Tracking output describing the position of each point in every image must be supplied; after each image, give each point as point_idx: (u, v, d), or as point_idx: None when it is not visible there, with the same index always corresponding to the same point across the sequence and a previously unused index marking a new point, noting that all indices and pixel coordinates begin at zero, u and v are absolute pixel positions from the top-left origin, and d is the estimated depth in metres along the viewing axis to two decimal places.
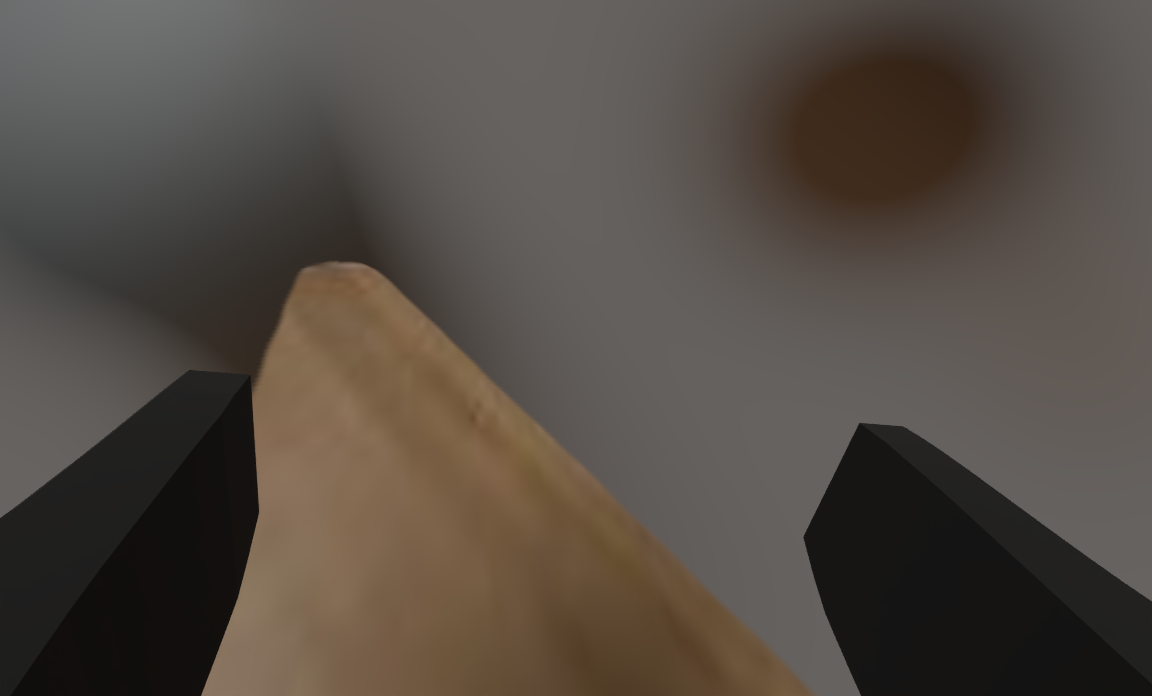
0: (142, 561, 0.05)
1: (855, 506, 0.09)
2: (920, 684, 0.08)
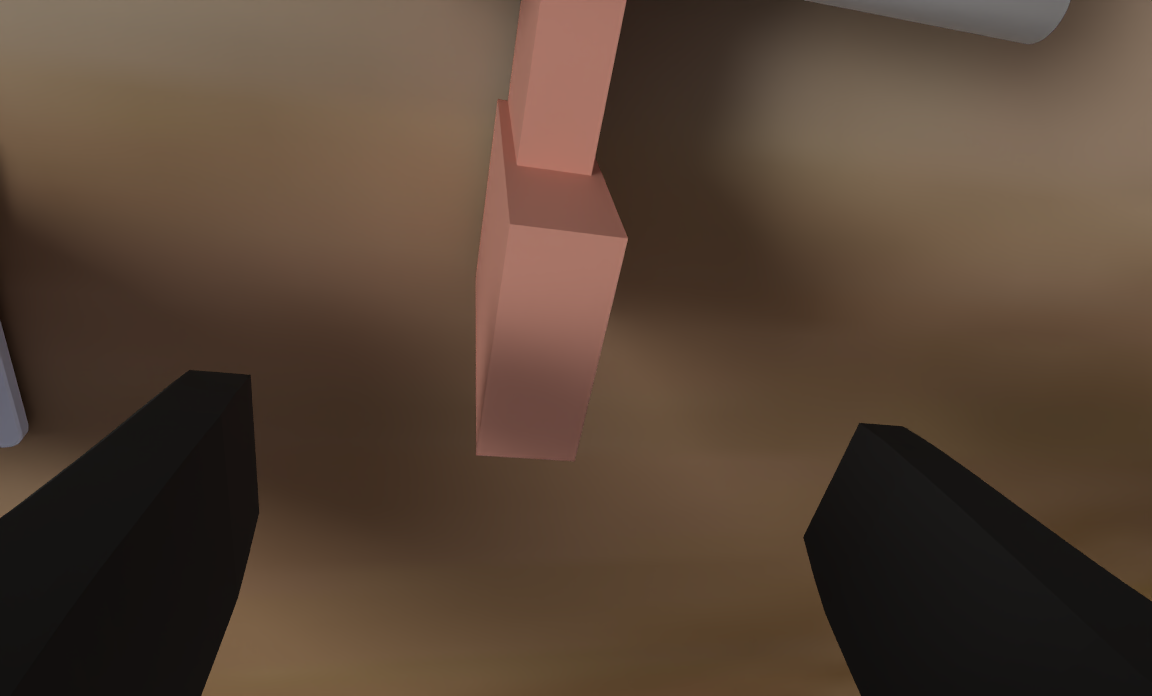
0: (142, 561, 0.05)
1: (855, 506, 0.09)
2: (920, 684, 0.08)
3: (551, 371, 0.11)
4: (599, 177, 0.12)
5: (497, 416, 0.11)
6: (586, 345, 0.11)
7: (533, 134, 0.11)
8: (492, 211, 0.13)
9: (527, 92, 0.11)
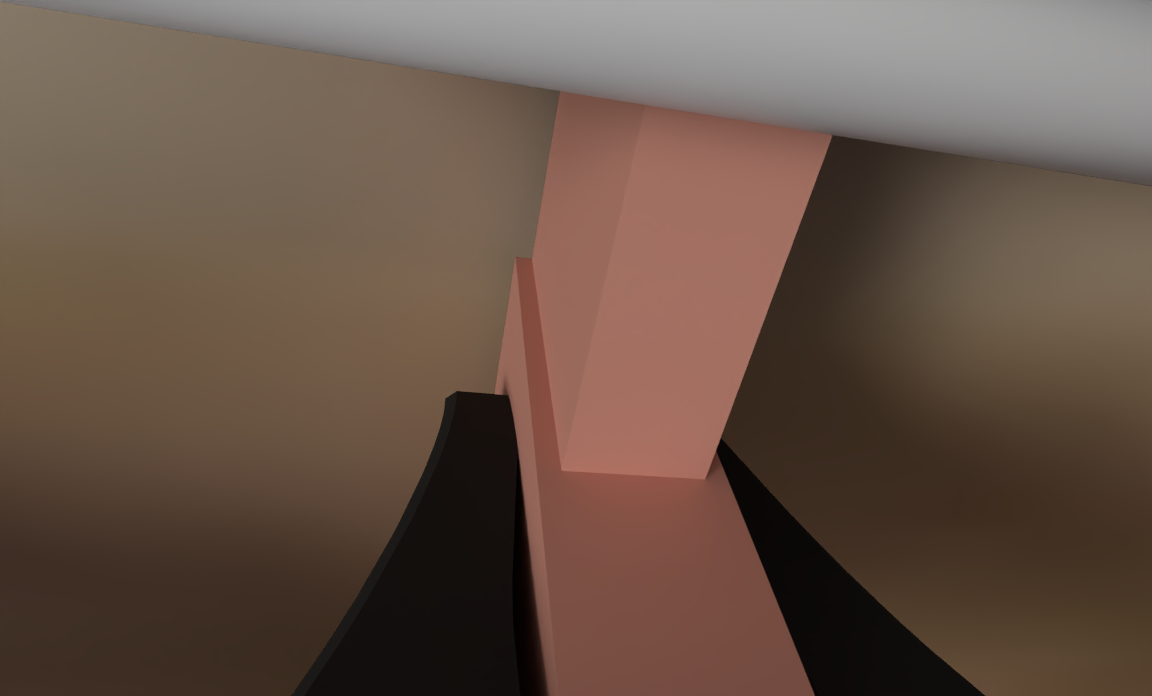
0: None
1: None
2: None
3: None
4: (721, 482, 0.06)
5: None
6: None
7: (597, 420, 0.06)
8: None
9: (588, 351, 0.05)
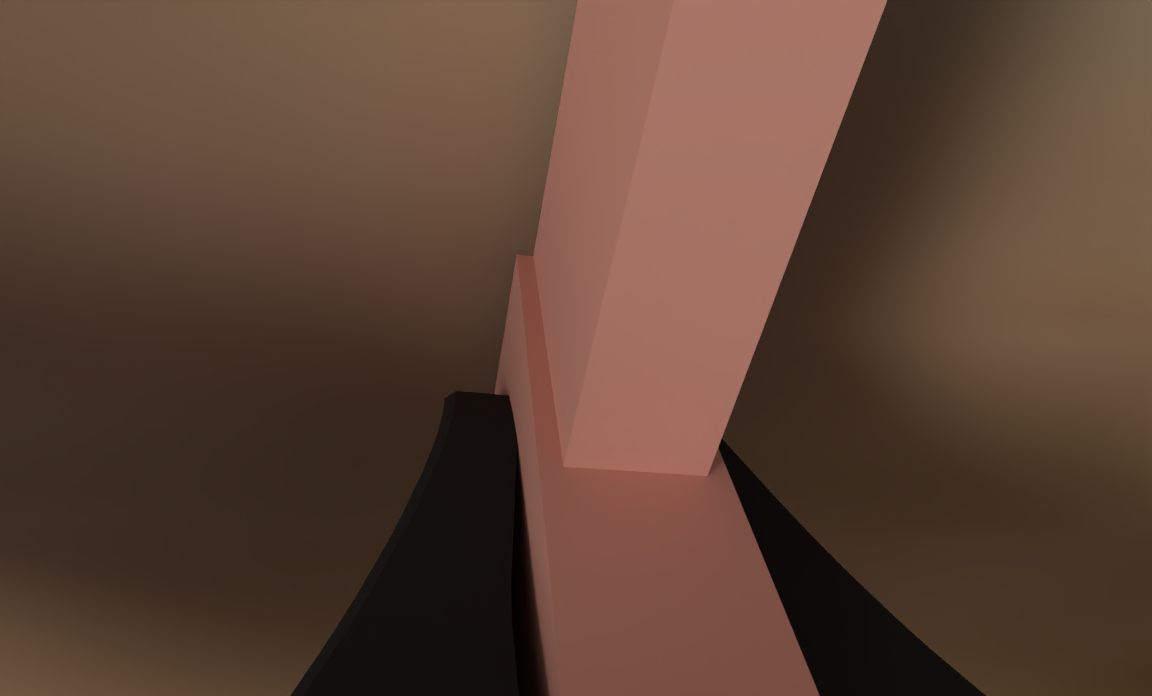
0: None
1: None
2: None
3: None
4: (722, 480, 0.06)
5: None
6: None
7: (599, 416, 0.06)
8: None
9: (591, 346, 0.05)
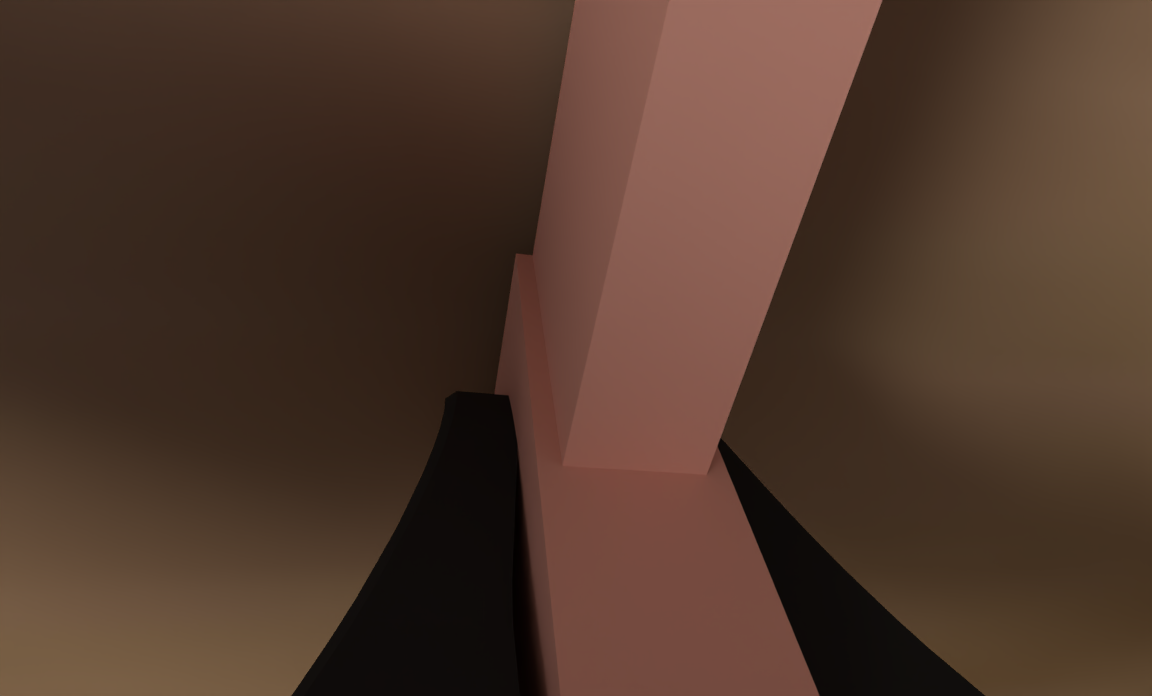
0: None
1: None
2: None
3: None
4: (723, 477, 0.06)
5: None
6: None
7: (598, 415, 0.06)
8: None
9: (589, 345, 0.05)
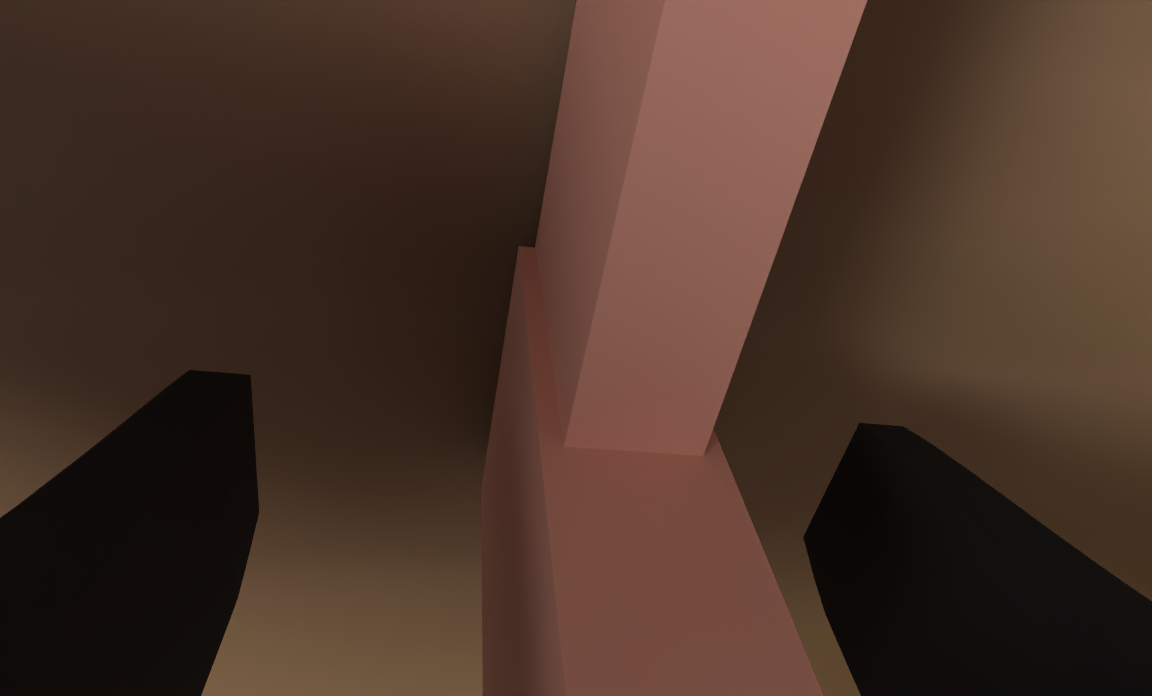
0: (142, 561, 0.05)
1: (855, 506, 0.09)
2: (920, 684, 0.08)
3: None
4: (719, 459, 0.06)
5: None
6: None
7: (598, 397, 0.06)
8: (512, 467, 0.08)
9: (590, 329, 0.05)
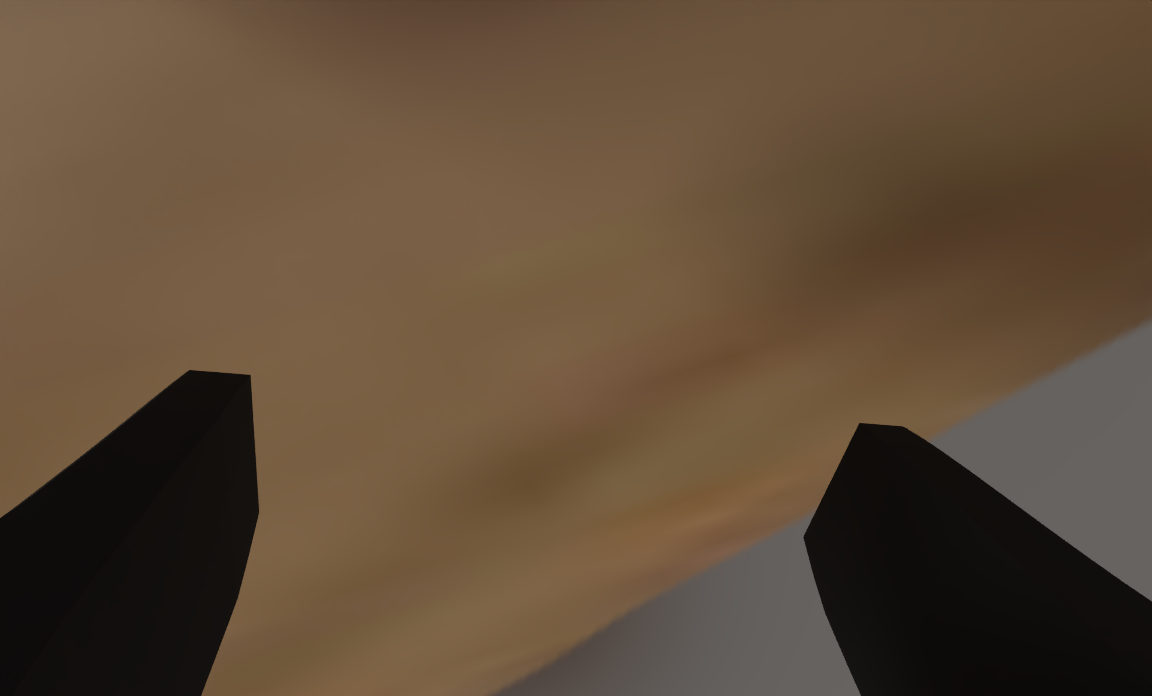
0: (142, 561, 0.05)
1: (855, 506, 0.09)
2: (920, 684, 0.08)
3: None
4: None
5: None
6: None
7: None
8: None
9: None
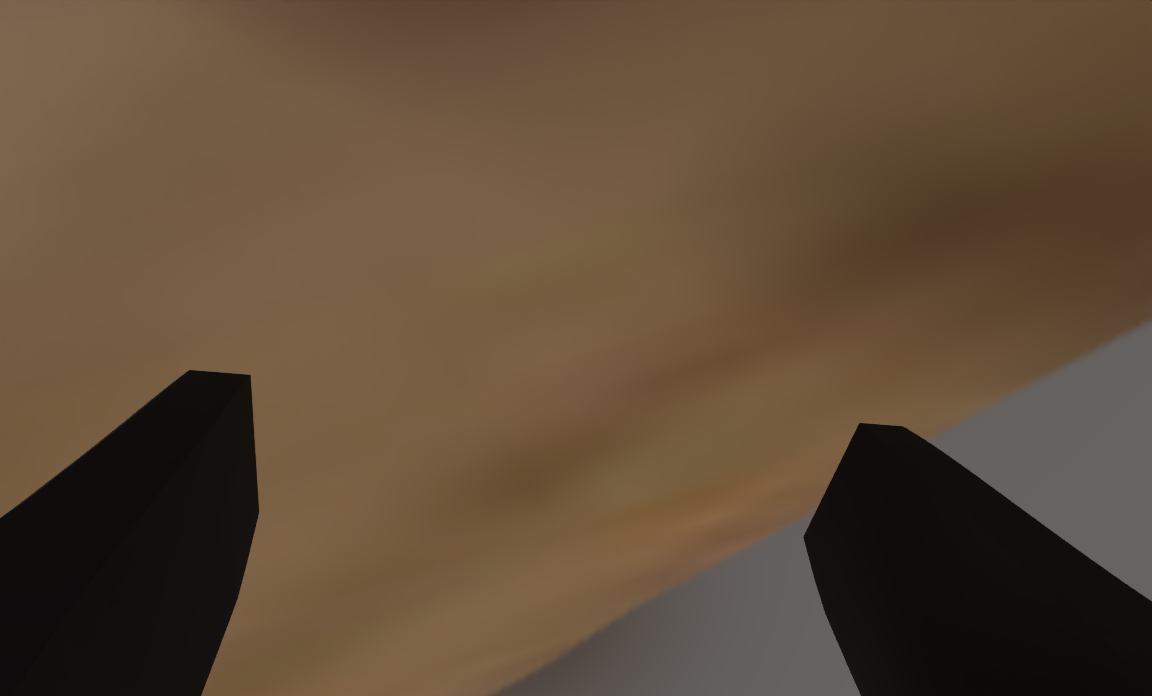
0: (142, 561, 0.05)
1: (855, 506, 0.09)
2: (920, 684, 0.08)
3: None
4: None
5: None
6: None
7: None
8: None
9: None
